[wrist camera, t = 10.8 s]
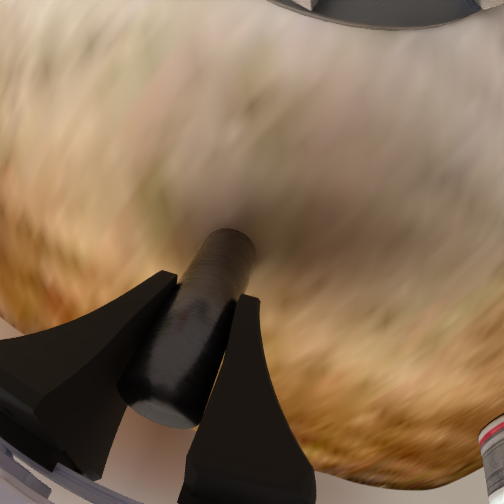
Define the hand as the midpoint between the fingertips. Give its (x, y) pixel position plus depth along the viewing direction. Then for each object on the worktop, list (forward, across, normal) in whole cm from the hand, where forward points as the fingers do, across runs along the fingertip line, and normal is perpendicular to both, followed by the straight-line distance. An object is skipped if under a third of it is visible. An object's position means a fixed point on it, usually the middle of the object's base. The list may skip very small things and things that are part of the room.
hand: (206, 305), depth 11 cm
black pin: (+3, 0, 0) cm, 4 cm away
